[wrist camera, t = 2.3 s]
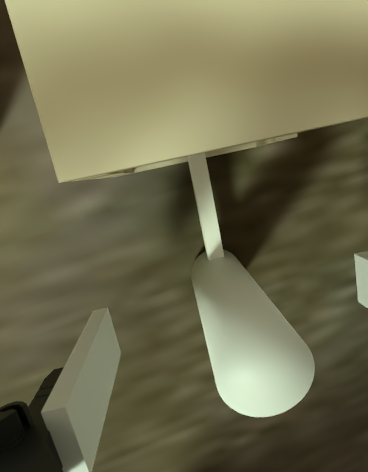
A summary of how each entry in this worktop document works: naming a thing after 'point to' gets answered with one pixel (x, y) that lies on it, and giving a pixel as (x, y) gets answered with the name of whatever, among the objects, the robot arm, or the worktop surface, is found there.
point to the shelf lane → (186, 76)
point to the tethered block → (243, 323)
